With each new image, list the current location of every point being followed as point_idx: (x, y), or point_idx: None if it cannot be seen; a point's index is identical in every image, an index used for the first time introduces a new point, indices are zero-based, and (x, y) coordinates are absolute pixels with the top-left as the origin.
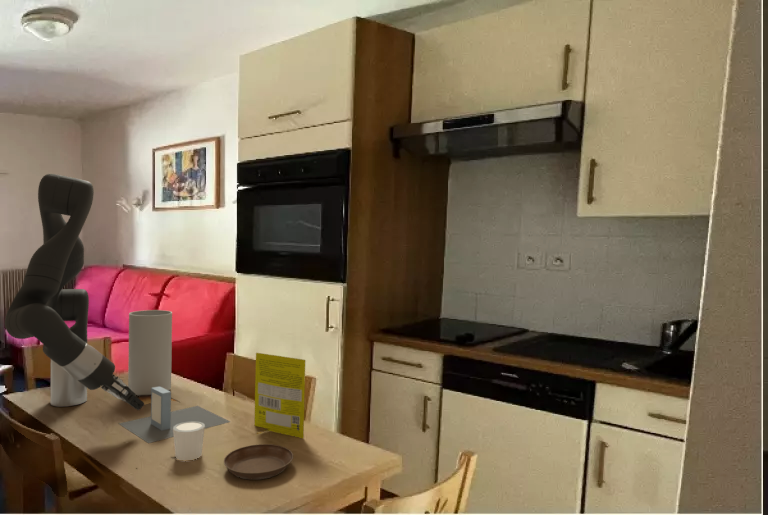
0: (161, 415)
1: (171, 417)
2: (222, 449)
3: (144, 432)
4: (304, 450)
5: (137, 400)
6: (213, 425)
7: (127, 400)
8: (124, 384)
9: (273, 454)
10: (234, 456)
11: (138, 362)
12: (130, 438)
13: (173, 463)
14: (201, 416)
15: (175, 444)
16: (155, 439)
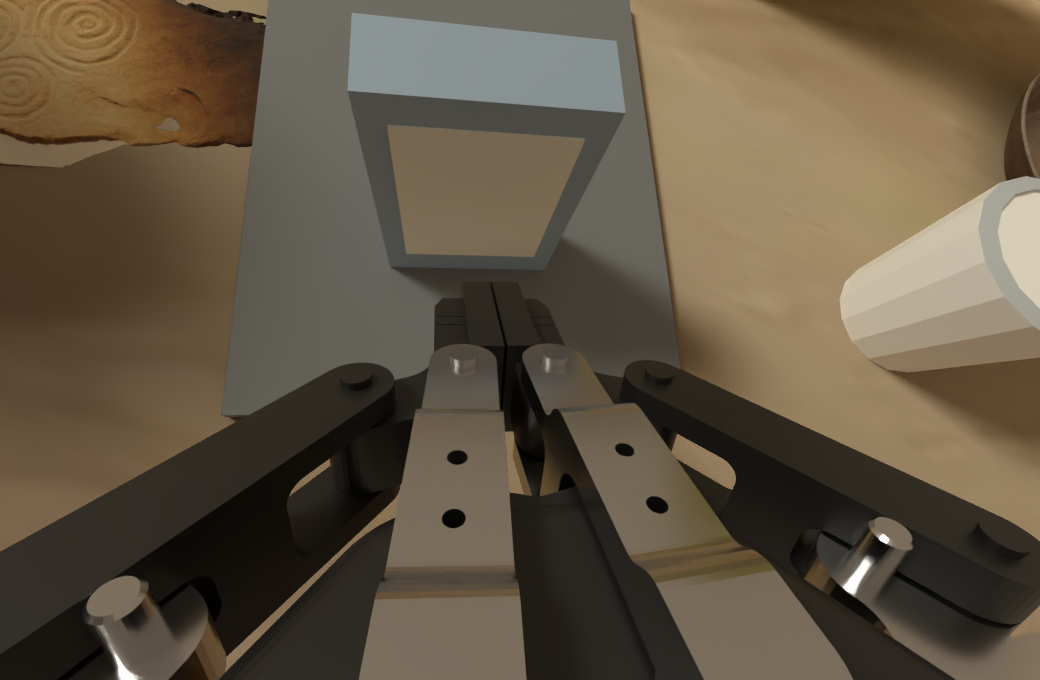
0: (554, 227)
1: None
2: (880, 186)
3: None
4: (1002, 16)
5: (557, 339)
6: (631, 69)
7: (714, 490)
8: (695, 499)
9: (1037, 102)
10: None
11: None
12: (512, 438)
13: (934, 400)
14: None
15: (980, 361)
16: (654, 351)
